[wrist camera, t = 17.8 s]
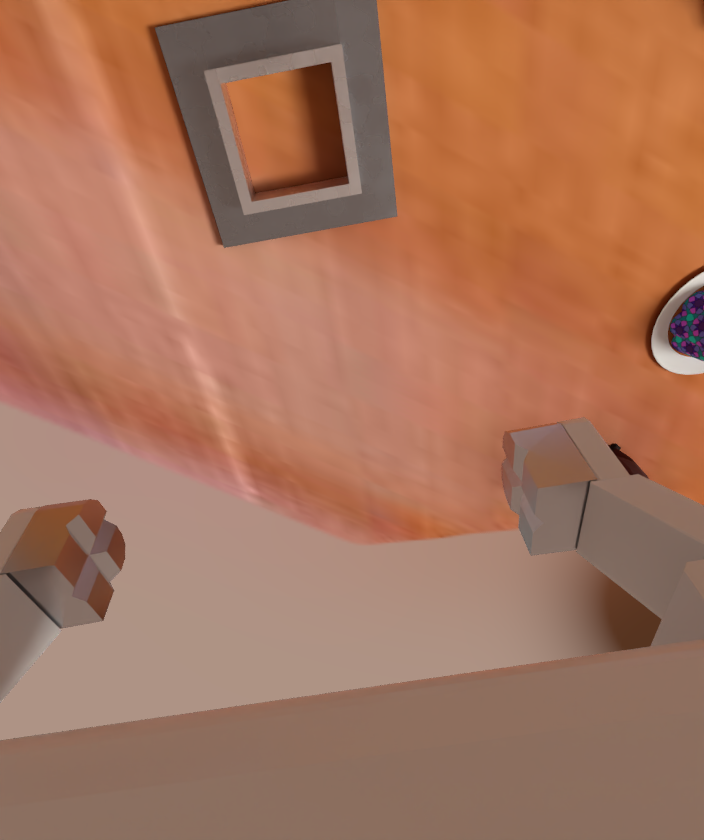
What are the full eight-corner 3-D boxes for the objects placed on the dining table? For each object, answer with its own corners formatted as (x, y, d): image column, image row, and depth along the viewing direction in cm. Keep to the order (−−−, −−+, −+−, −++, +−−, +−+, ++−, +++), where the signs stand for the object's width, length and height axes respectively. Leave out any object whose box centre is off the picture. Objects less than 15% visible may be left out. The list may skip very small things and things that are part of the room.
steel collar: (225, 245, 40) (220, 256, 38) (157, 27, 32) (146, 27, 30) (396, 214, 40) (400, 223, 38) (373, -17, 31) (378, -20, 29)
